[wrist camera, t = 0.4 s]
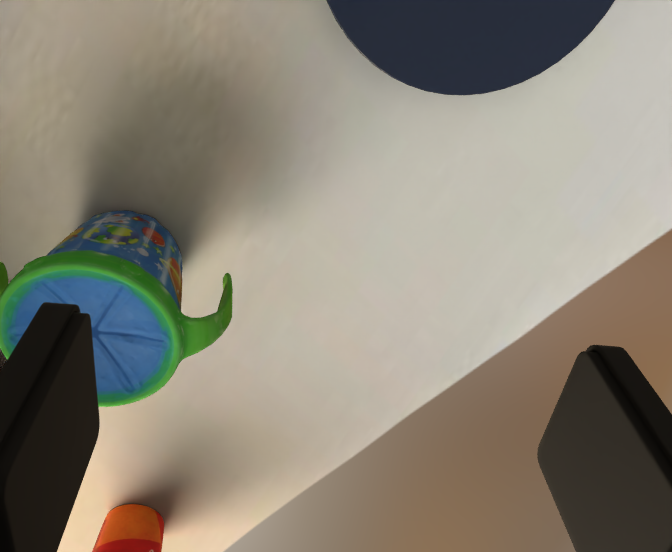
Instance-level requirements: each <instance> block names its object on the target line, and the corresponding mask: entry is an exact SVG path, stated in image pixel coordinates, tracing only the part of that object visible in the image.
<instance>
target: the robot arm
mask: <svg viewBox="0 0 672 552" xmlns="http://www.w3.org/2000/svg"><path fill="white" fill-rule="evenodd" d="M98 433H99V409H98V398H97V386H96V374H95V362H94V350H93V339H92V327H91V318H90V315H89V314H88V313H81V312H80V308H79V306H78V305H76V304H63V303H50V302H45V303H43V304H42V305H41V306H40V308H39V309H38V311H37V313H36V314H35V316H34V317H33V319H32V321H31V322H30V324H29V326H28V327H27V329H26V330H25V332H24V334H23V335H22V337H21V339H20V340H19V342H18V344H17V345H16V347H15V348H14V350H13V352H12V353H11V355H10V357H9V358H8V360H7V361H6V363H5V365H4V366H3V368H2V370H1V371H0V552H57V549H58V547H59V544H60V541H61V538H62V536H63V533H64V530H65V527H66V525H67V522H68V519H69V516H70V513H71V511H72V508H73V505H74V502H75V500H76V497H77V494H78V491H79V488H80V486H81V483H82V480H83V477H84V475H85V472H86V469H87V466H88V464H89V461H90V458H91V455H92V452H93V450H94V447H95V444H96V441H97V438H98ZM538 462H539V465H540V468H541V470H542V473H543V475H544V477H545V480H546V482H547V484H548V487H549V489H550V491H551V494H552V496H553V499H554V501H555V503H556V506H557V508H558V510H559V512H560V515H561V517H562V520H563V522H564V524H565V527H566V529H567V532H568V534H569V536H570V539H571V541H572V543H573V545H574V548H575V550H576V552H672V414H671V413H670V411H669V410H668V409H667V407H666V406H665V405H664V403H663V402H662V400H661V399H660V398H659V396H658V395H657V393H656V392H655V391H654V389H653V388H652V386H651V385H650V384H649V382H648V381H647V379H646V378H645V377H644V375H643V374H642V372H641V371H640V370H639V369H638V367H637V366H636V364H635V363H634V361H633V360H632V358H631V357H630V356H629V355H628V353H627V352H626V351H625V350H624V349H623V348H621V347H615V346H602V345H592V346H590V347H589V348H587V350H586V352H585V351H583V352H581V353H580V354H579V355H578V356H577V359H576V361H575V363H574V365H573V368H572V370H571V372H570V375H569V377H568V379H567V382H566V384H565V386H564V388H563V391H562V393H561V396H560V398H559V400H558V402H557V405H556V407H555V409H554V412H553V414H552V416H551V418H550V421H549V423H548V425H547V428H546V430H545V432H544V435H543V437H542V439H541V442H540V444H539V447H538Z"/></svg>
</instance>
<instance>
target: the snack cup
mask: <svg viewBox="0 0 672 552" xmlns="http://www.w3.org/2000/svg"><path fill="white" fill-rule="evenodd" d="M223 289H224V290H223V294H222V297H221V300H220V303H219V307H218V311H217V312H216V313H213V314H211V315H208V316H205V317H201V318H190V317H188V316H185V315H183V314H182V313H181V297H182V256H181V253H180V252H179V248H178V246H177V244H176V242H175V240H174V238H173V237H172V235H171V234H170V233H169V232H168V231H167V229H165V228H164V227H163V226H161V225H160V224H159V223H158V221H157V220H156V219H155V218H152V217H150V216H148V215H141V214H137V213H135V212H133V211H127V210H126V211H113V212H109V213H101V214H99V215H95V216H93V217H92V218H91V219H90V220H88V221H87V222H85V223H83V224H82V225H80V226H79V227H78V228H77V229H76V230H75V231H74V232H72V233H71V234H70V235H69V236H68V237H66V238H65V239H64V240H63V241H62V242H61V243H60V244H58V245H57V246H56V247H55V248H54V249H53V250H52V251H50V252H49V254H48V255H47V256H43V257H39V258H37V259H35V260H33V261H31V262H29V263H27V264H26V265H25V266H24V268H23V270H21V271H20V272H19V273H18V274H17V275H16V276H15V277H14V278H13V279H12V280H11V282H10V283H9V284H8V275H7V271H6V268H5V266H4V264H3V263H2V262H0V349H1V350H2V352H3V354H4V356H5V357H6V359H7V360H8V358H9V357H10V355H11V353H12V352H13V350H14V348H15V347H16V345H17V344H18V342H19V340H20V339H21V337H22V335H23V334H24V332H25V330H26V329H27V327H28V326H29V324H30V322H31V321H32V319H33V317H34V316H35V314H36V313H37V311H38V309H39V308H40V306H41V305H42V304H43V303H45V302H50V303H63V304H76V305H78V306H79V308H80V312H81V313H88V314H89V315H90V318H91V327H92V339H93V350H94V362H95V374H96V386H97V398H98V407H109V406H119V405H125V404H130V403H133V402H136V401H139V400H141V399H144V398H146V397H148V396H150V395H151V394H153V393H155V392H157V391H158V390H159V389H160V388H161V387H163V386H164V385H165V384H166V383H167V382H168V381H169V379H170V378H171V377H172V375H173V374H174V372H175V370H176V368H177V366H178V364H179V363H180V362H181V361H182V360H183V359H184V358H186V357H188V356H191V355H193V354H195V353H198V352H199V351H201V350H203V349H205V348H206V347H208V346H209V345H211V344H212V343H214V342H215V341H216V340H217V339H218V338H219V337H220V336H221V335H222V334H223V332H224V331H225V330H226V328H227V327H228V325H229V323H230V321H231V318H232V280H231V276H230V274H229V273H226V274H225V276H224V277H223Z"/></svg>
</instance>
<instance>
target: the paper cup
mask: <svg viewBox="0 0 672 552" xmlns="http://www.w3.org/2000/svg"><path fill="white" fill-rule="evenodd" d="M163 533H164V521H163V518H162V516H161V515H160V514H159V513H158V512H157V511H155V510H154V509H152V508H150V507H147V506H144V505H138V504H126V505H121V506H118V507H116V508H114V509H112V510H111V511H110V512H109V513H108V514H107V516H106V518H105V520H104V523H103V525H102V528H101V530H100V533H99V535H98V538H97V541H96V543H95V546H94V548H93V551H92V552H161V549H162V542H163Z"/></svg>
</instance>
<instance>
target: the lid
mask: <svg viewBox="0 0 672 552" xmlns="http://www.w3.org/2000/svg"><path fill="white" fill-rule="evenodd" d="M326 1H327V3H328V5H329V7H330V9H331V11H332V13H333V15H334V17H335V19H336V21H337V22H338V24H339V25H340V27H341V29H342V30H343V32H344V33H345V35H346V36H347V38H348V39H349V40H350V41H351V42H352V44H353V45H354V46H355V47H356V48H357V49H358V51H359V52H360V53H361V54H362V55H363V56H365V57H366V58H367V59H368V60H369V61H370V62H371V63H372V64H373V65H375V66H376V67H377V68H379V69H380V70H382V71H383V72H385V73H386V74H388V75H389V76H391V77H392V78H394V79H397V80H399V81H401V82H403V83H405V84H407V85H409V86H412V87H415V88H418V89H421V90H424V91H428V92H434V93H439V94H445V95H473V94H484V93H488V92H493V91H497V90H501V89H505V88H508V87H510V86H513V85H516V84H519V83H522V82H524V81H526V80H528V79H530V78H532V77H534V76H536V75H538V74H540V73H542V72H543V71H545V70H546V69H548V68H549V67H551V66H552V65H554V64H555V63H557V62H559V61H560V60H561V59H562V58H563V57H565V56H566V55H567V54H568V53H570V52H571V51H572V50H573V49H574V48H576V47H577V46H578V45H579V44H580V43H581V42H582V41H583V40H584V39H585V38H586V37H587V36H588V35H589V34H590V33H591V32H592V30H593V29H594V28H595V27H596V25H597V24H598V23H599V22H600V20H601V19H602V18H603V17H604V16H605V14H606V13H607V12H608V10H609V8H610V7H611V5H612V4H613V2H614V1H615V0H326Z"/></svg>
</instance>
